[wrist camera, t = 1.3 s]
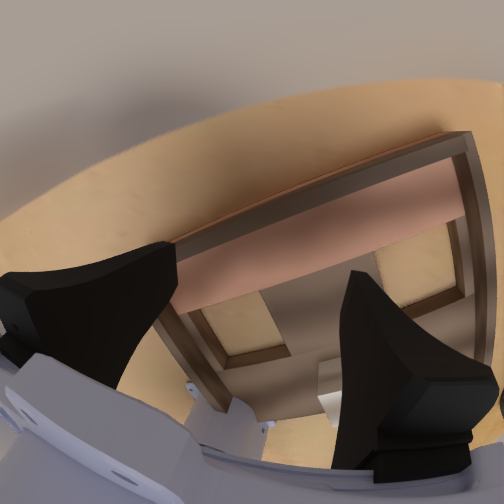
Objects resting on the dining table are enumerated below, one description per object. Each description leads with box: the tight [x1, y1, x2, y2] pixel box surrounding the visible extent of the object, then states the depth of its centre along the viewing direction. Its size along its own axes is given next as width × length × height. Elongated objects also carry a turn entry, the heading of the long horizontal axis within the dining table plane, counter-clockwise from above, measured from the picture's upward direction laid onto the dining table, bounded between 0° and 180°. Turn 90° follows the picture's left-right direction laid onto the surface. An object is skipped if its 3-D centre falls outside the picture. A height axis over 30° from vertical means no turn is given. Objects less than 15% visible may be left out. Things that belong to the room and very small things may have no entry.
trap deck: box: [152, 131, 497, 423], centre depth 21 cm, size 22×27×5 cm
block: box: [317, 357, 342, 428], centre depth 21 cm, size 5×5×4 cm
